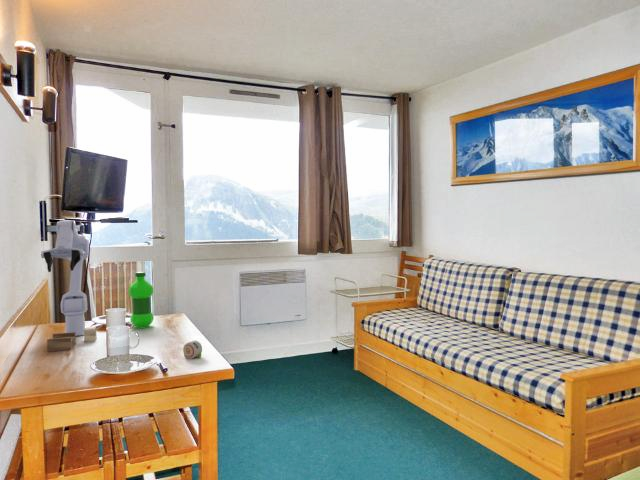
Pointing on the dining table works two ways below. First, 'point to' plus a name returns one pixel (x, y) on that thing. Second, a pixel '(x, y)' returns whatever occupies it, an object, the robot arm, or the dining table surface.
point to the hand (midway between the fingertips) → (60, 269)
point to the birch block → (90, 334)
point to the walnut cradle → (61, 341)
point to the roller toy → (192, 349)
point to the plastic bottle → (141, 301)
